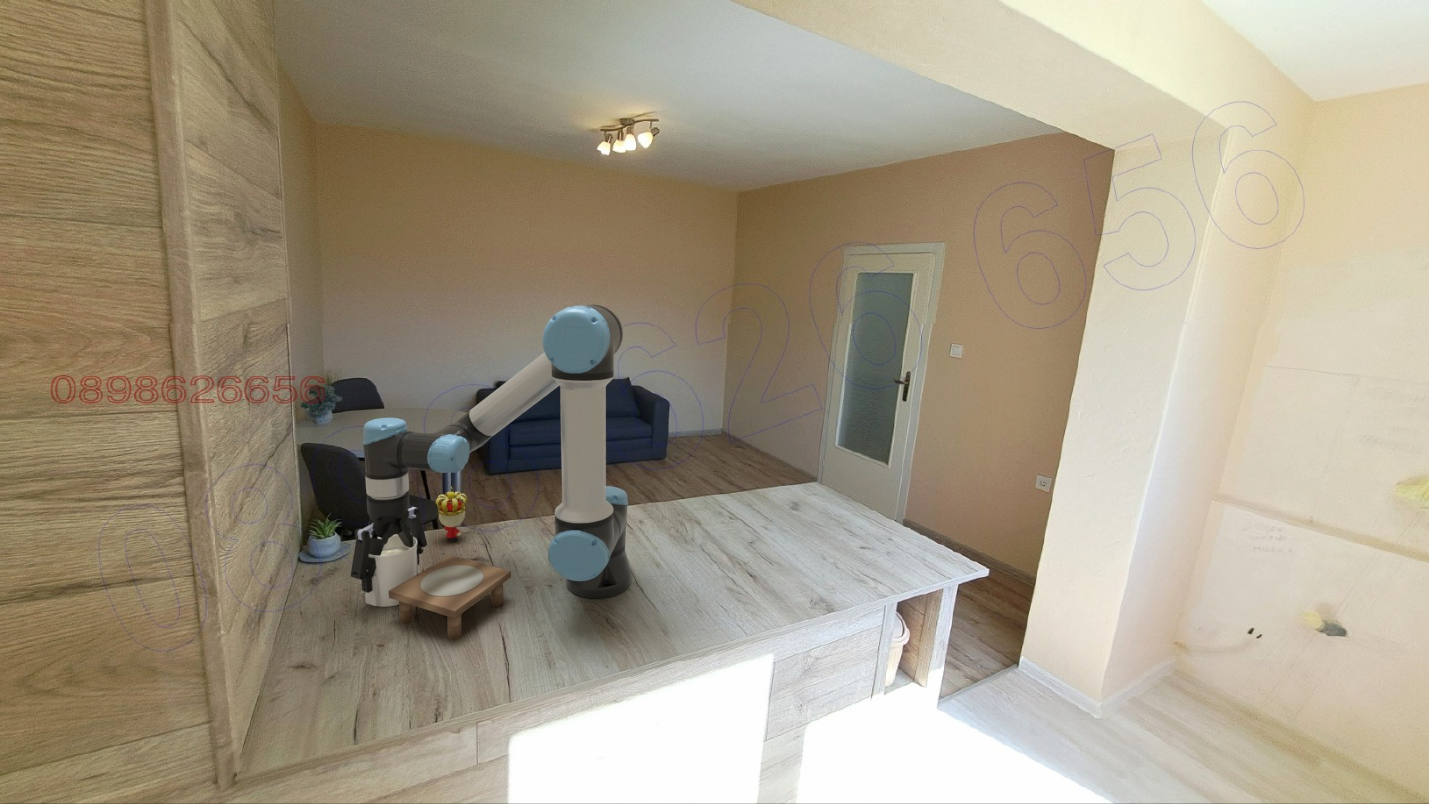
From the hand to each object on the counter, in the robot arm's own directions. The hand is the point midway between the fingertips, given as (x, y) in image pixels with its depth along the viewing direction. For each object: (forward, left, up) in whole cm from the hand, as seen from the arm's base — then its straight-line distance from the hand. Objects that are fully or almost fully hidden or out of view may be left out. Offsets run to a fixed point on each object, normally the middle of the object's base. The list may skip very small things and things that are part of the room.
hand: (392, 591), depth 115 cm
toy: (+8, -25, -1) cm, 26 cm away
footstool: (-15, -1, -1) cm, 15 cm away
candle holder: (0, 0, -1) cm, 1 cm away
